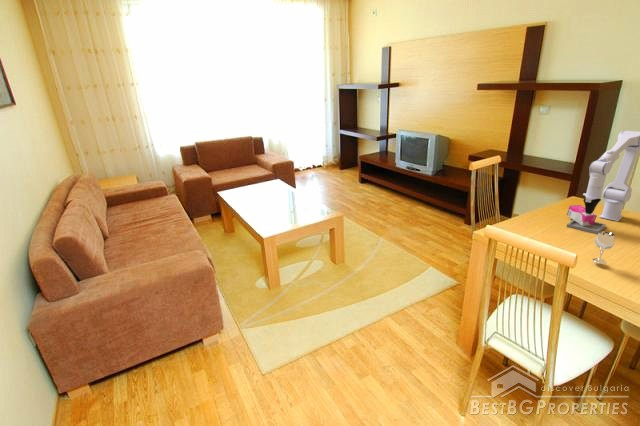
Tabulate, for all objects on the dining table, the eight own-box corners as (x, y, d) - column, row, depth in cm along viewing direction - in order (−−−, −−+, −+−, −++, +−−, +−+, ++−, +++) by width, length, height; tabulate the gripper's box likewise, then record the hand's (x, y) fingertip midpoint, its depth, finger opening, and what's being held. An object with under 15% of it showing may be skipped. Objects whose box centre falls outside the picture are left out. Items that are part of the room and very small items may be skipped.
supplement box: (577, 214, 177) (593, 225, 167) (566, 215, 177) (581, 226, 167) (581, 204, 174) (597, 215, 164) (569, 205, 174) (585, 216, 164)
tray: (574, 220, 176) (575, 217, 175) (605, 227, 166) (605, 224, 166) (566, 227, 168) (566, 224, 168) (597, 234, 159) (598, 231, 159)
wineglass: (586, 258, 138) (593, 231, 134) (599, 257, 138) (606, 230, 134) (598, 265, 133) (606, 237, 129) (612, 263, 133) (620, 236, 129)
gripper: (590, 181, 167) (583, 207, 172) (580, 187, 159) (574, 214, 164) (607, 184, 162) (601, 211, 167) (599, 190, 154) (592, 218, 158)
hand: (589, 213), depth 165 cm, fingers closed
